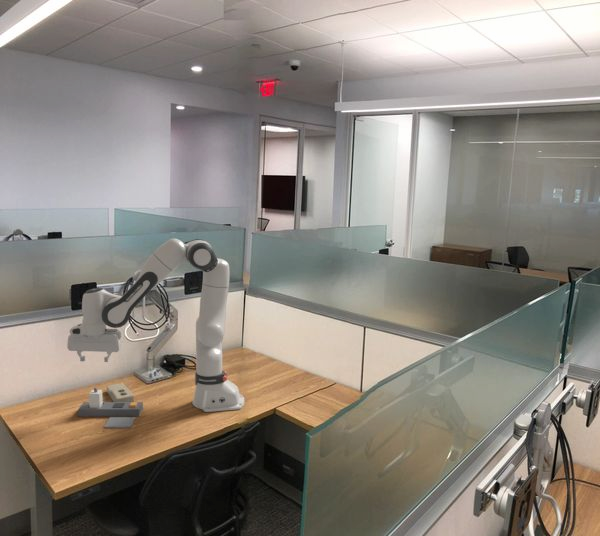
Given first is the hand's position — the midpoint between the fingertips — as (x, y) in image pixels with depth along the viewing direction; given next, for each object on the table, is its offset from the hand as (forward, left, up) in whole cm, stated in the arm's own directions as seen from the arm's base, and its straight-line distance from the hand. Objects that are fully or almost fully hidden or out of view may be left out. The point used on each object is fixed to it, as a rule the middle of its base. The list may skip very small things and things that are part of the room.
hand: (94, 361), depth 208 cm
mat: (-12, +10, -22) cm, 27 cm away
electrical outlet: (-6, -15, -23) cm, 28 cm away
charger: (0, 0, -22) cm, 22 cm away
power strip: (-6, 0, -22) cm, 23 cm away
